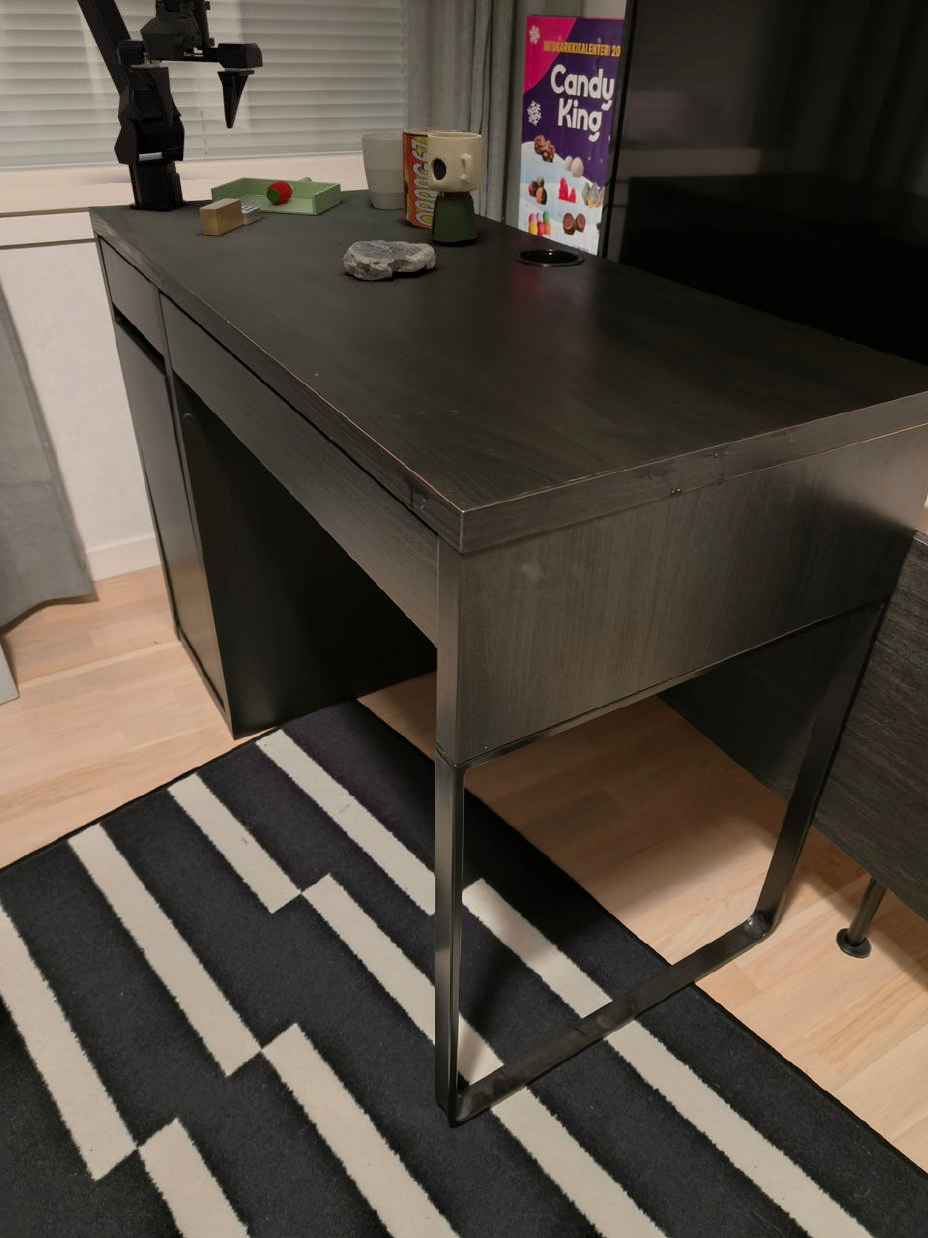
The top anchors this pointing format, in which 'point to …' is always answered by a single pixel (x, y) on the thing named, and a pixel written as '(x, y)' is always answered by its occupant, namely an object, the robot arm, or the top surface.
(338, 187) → the tray
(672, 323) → the top surface
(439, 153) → the character mug
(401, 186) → the cup
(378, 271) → the fossil
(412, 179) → the beverage can
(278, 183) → the strawberry
